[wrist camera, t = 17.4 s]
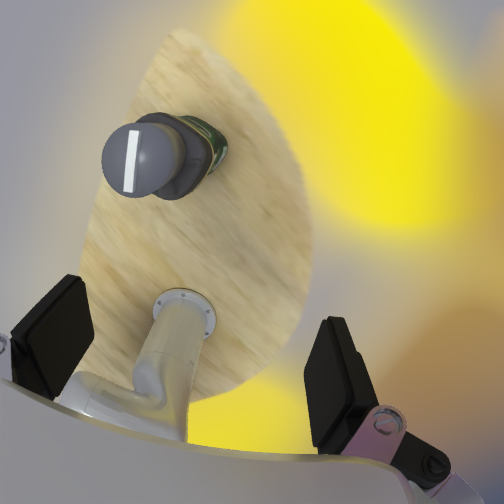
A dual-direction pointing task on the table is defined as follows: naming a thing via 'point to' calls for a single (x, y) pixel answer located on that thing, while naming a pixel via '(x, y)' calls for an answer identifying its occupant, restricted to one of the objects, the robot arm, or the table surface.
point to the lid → (142, 158)
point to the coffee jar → (190, 152)
